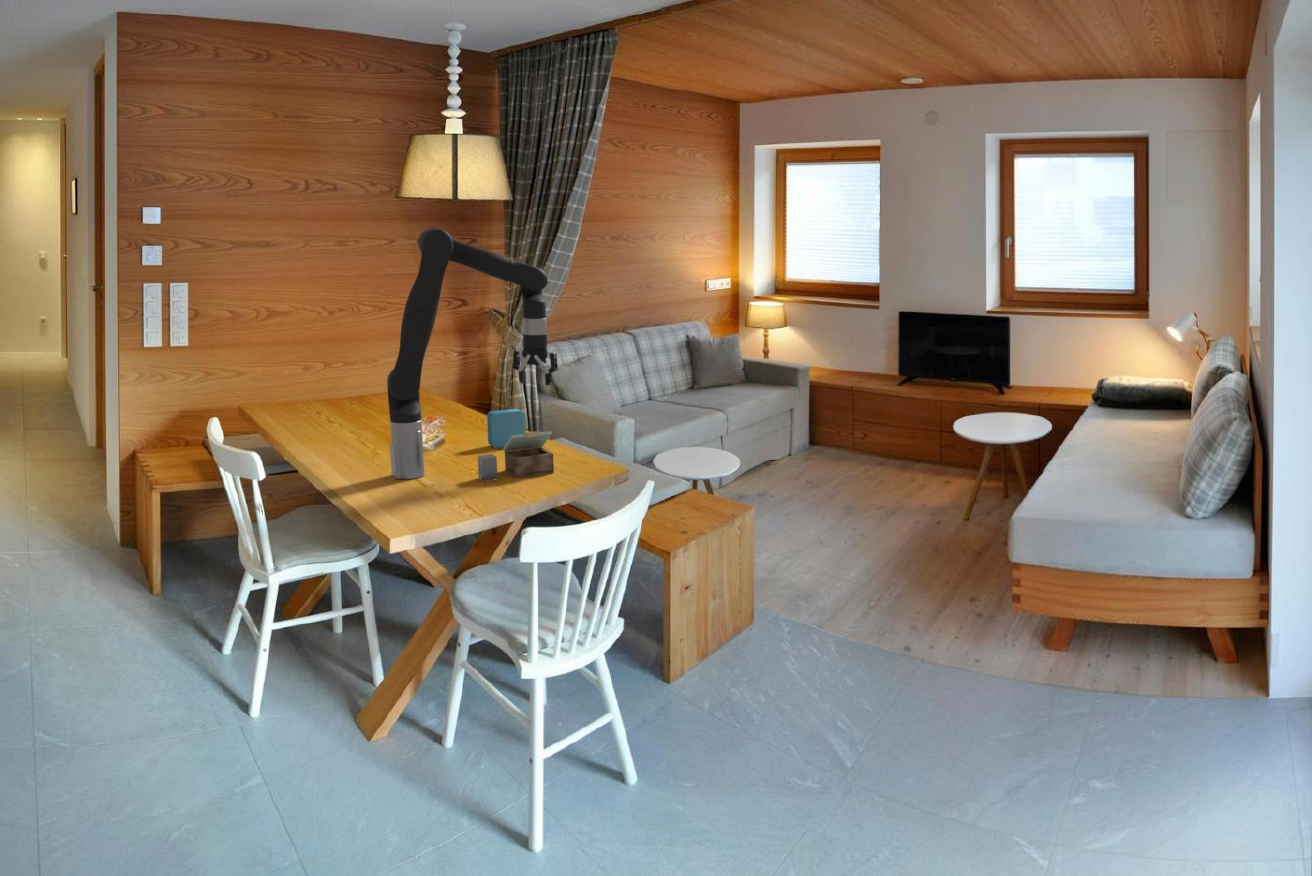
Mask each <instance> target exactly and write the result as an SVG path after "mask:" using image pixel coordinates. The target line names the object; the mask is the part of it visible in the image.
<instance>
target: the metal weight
mask: <svg viewBox="0 0 1312 876" xmlns="http://www.w3.org/2000/svg"><path fill="white" fill-rule="evenodd" d="M497 460H498V458H497V456H496V455H495V454H493V453H489V454H480V455H477V469H478V470H477V471H478V479H479V478H481V479H482V480H483V481H484V482H487V481H486V480H491V481H495V480H494V479H498V461H497ZM481 479H480V480H481ZM482 480H481V481H482ZM483 481H482V482H483Z"/></svg>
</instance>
